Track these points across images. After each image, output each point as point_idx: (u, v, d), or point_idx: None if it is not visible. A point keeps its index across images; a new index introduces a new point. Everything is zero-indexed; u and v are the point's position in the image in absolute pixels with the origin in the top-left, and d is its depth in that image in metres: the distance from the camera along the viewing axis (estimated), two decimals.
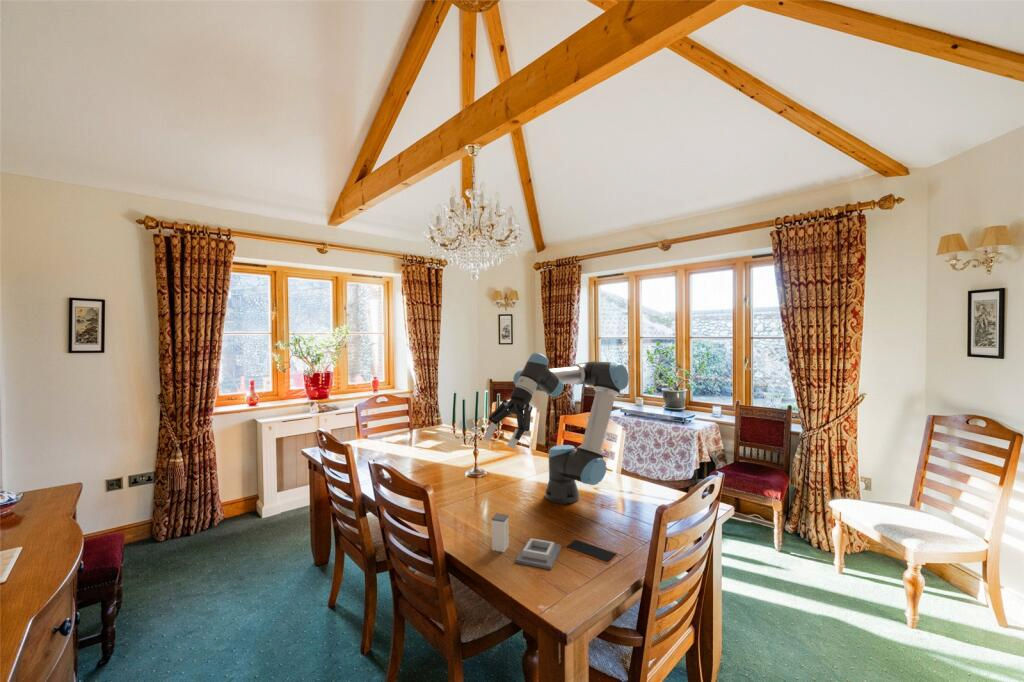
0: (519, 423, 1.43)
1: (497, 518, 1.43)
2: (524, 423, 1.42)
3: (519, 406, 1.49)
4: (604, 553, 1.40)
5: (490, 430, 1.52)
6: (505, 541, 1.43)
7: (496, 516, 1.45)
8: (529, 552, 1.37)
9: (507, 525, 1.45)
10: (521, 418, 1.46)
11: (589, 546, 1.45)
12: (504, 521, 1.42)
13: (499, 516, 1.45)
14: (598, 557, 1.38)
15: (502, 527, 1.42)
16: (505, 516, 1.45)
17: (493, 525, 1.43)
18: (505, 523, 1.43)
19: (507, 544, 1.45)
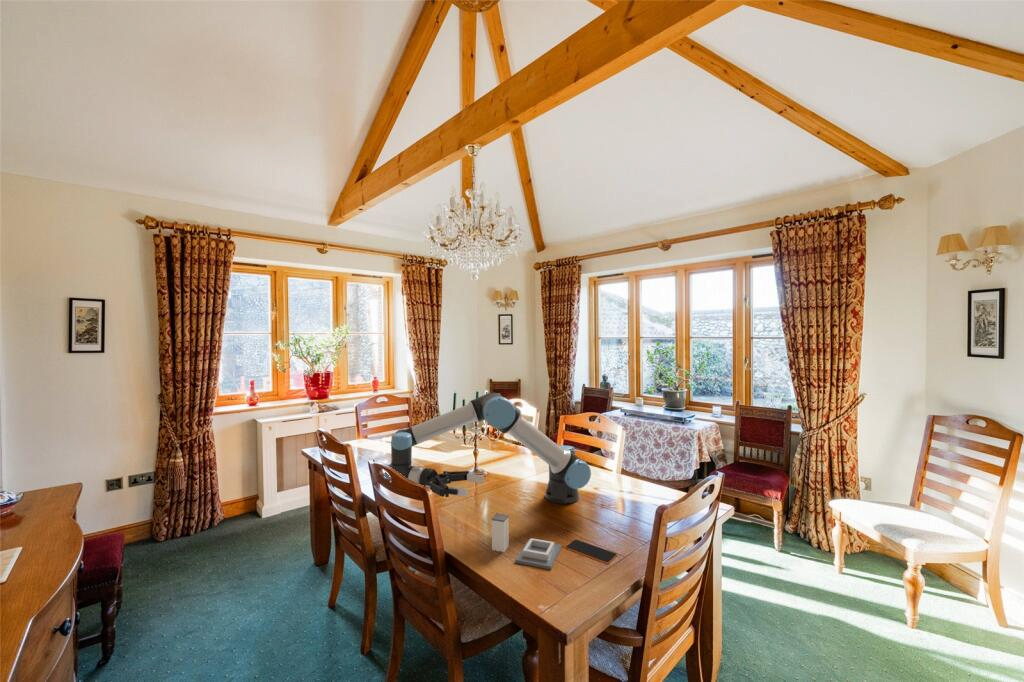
0: None
1: (497, 518, 1.43)
2: None
3: None
4: (604, 553, 1.40)
5: (473, 480, 1.55)
6: (505, 541, 1.43)
7: (496, 516, 1.45)
8: (529, 552, 1.37)
9: (507, 525, 1.45)
10: (441, 487, 1.46)
11: (589, 546, 1.45)
12: (504, 521, 1.42)
13: (499, 516, 1.45)
14: (598, 557, 1.38)
15: (502, 527, 1.42)
16: (505, 516, 1.45)
17: (493, 525, 1.43)
18: (505, 523, 1.43)
19: (507, 544, 1.45)
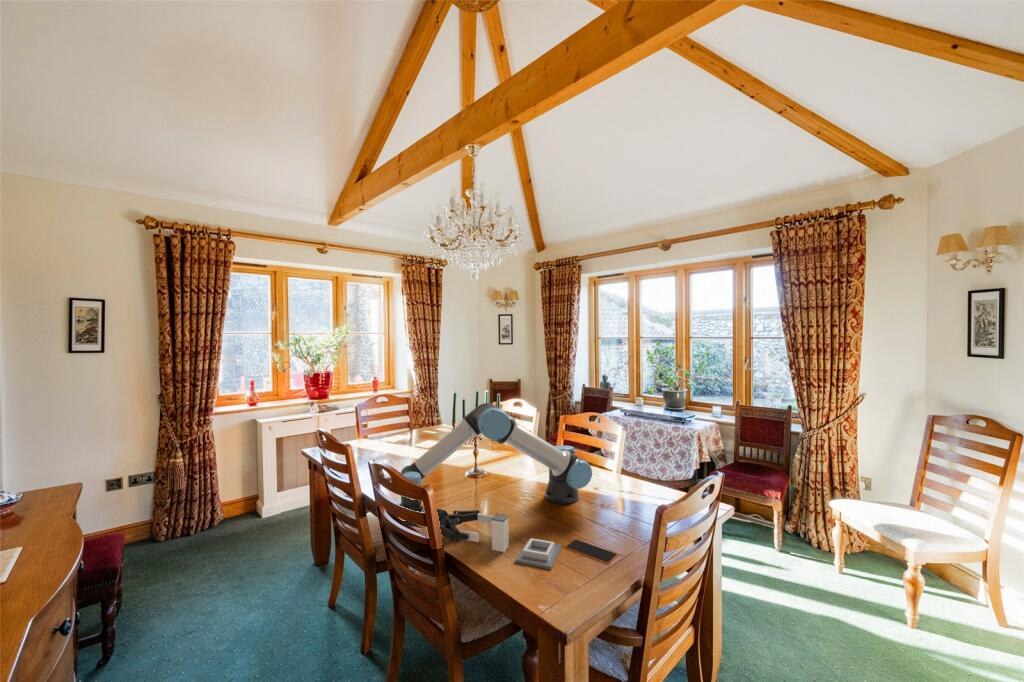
0: None
1: (497, 518, 1.43)
2: None
3: None
4: (604, 553, 1.40)
5: (484, 520, 1.53)
6: (505, 541, 1.43)
7: (496, 516, 1.45)
8: (529, 552, 1.37)
9: (507, 525, 1.45)
10: (451, 530, 1.45)
11: (589, 546, 1.45)
12: (504, 521, 1.42)
13: (499, 516, 1.45)
14: (598, 557, 1.38)
15: (502, 527, 1.42)
16: (505, 516, 1.45)
17: (493, 525, 1.43)
18: (505, 523, 1.43)
19: (507, 544, 1.45)
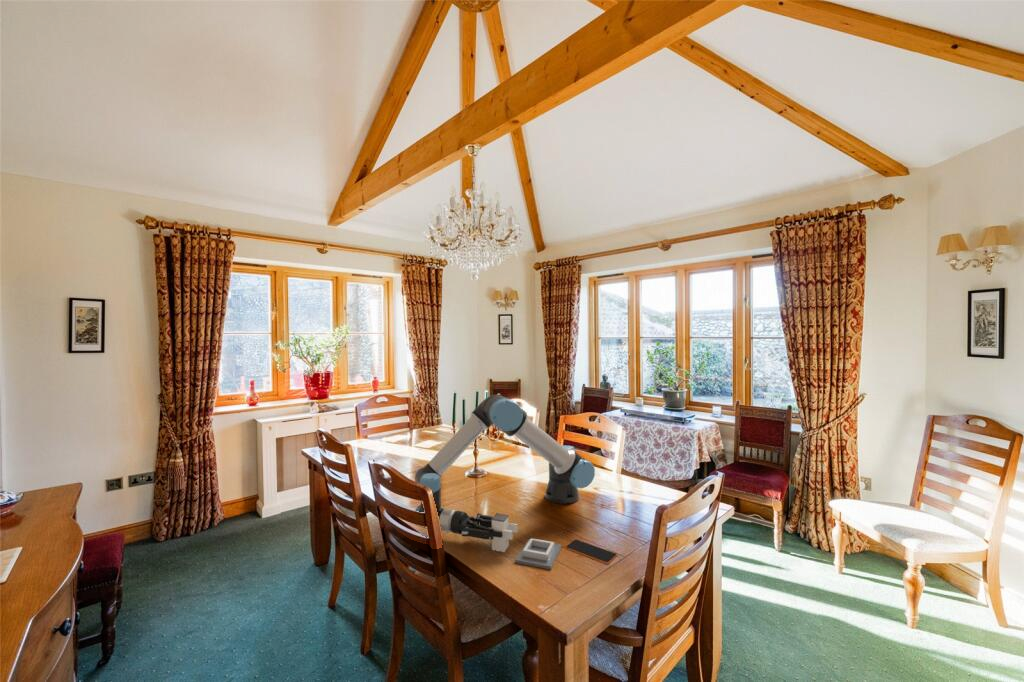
0: None
1: (497, 518, 1.43)
2: None
3: None
4: (604, 553, 1.40)
5: None
6: (505, 541, 1.43)
7: (496, 516, 1.45)
8: (529, 552, 1.37)
9: (507, 525, 1.45)
10: None
11: (589, 546, 1.45)
12: (504, 521, 1.42)
13: (499, 516, 1.45)
14: (598, 557, 1.38)
15: (502, 527, 1.42)
16: (505, 516, 1.45)
17: (493, 525, 1.43)
18: (505, 523, 1.43)
19: (507, 544, 1.45)
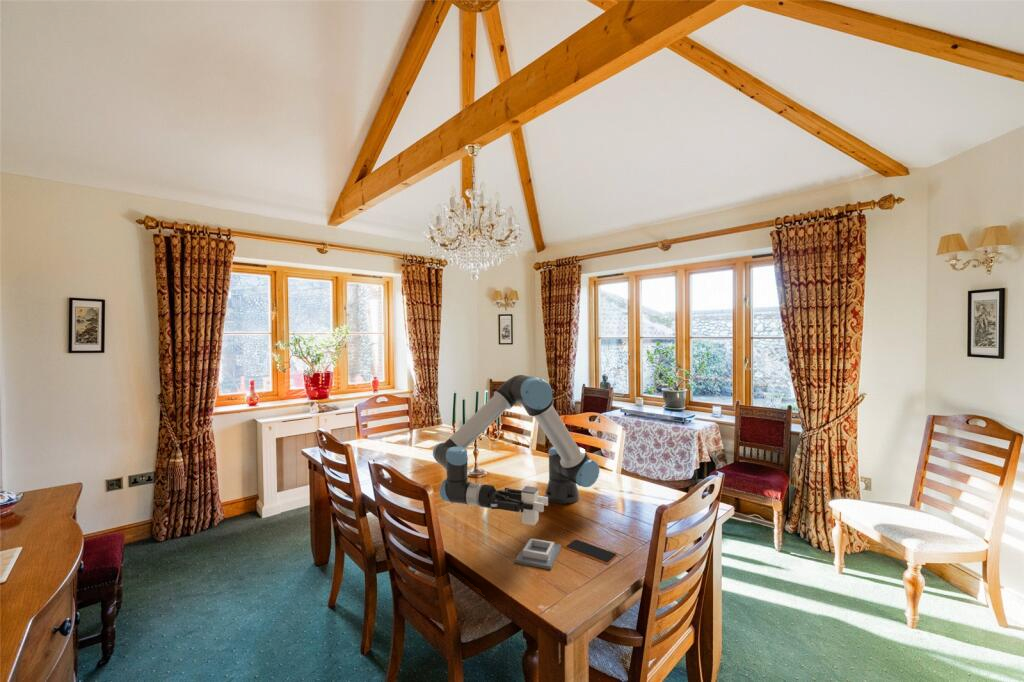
0: None
1: (527, 490, 1.39)
2: None
3: None
4: (604, 553, 1.40)
5: None
6: (536, 514, 1.39)
7: (526, 488, 1.41)
8: (529, 552, 1.37)
9: (537, 498, 1.41)
10: None
11: (589, 546, 1.45)
12: (534, 493, 1.38)
13: (529, 488, 1.40)
14: (598, 557, 1.38)
15: (533, 499, 1.37)
16: (535, 488, 1.40)
17: (523, 497, 1.39)
18: (535, 495, 1.38)
19: (537, 518, 1.40)
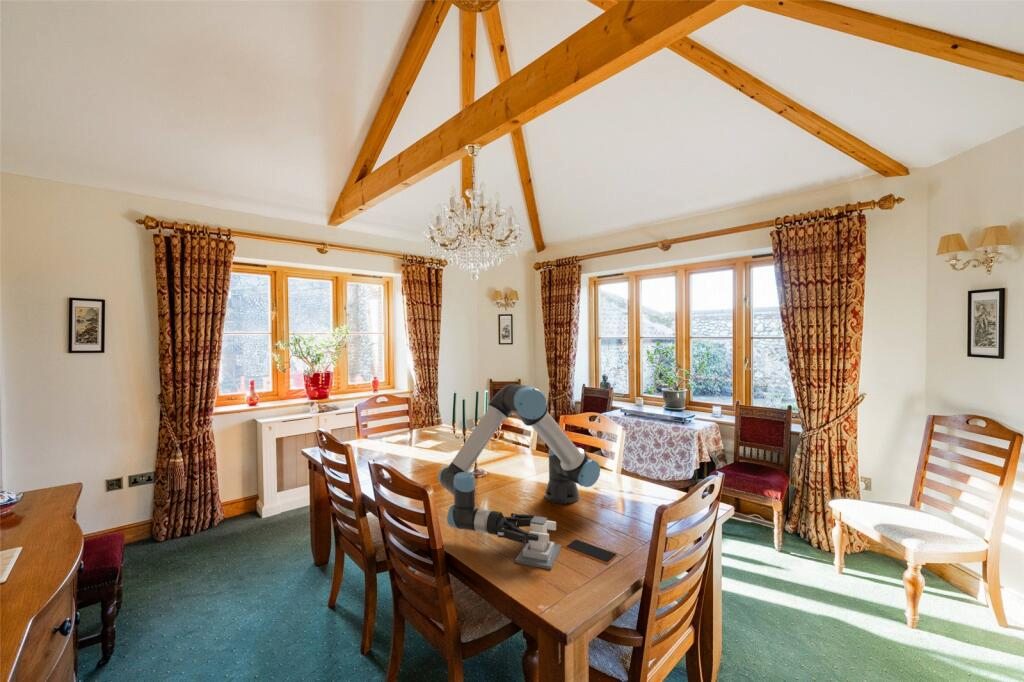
0: None
1: (536, 521, 1.39)
2: None
3: None
4: (604, 553, 1.40)
5: None
6: (544, 545, 1.39)
7: (535, 519, 1.40)
8: (529, 552, 1.37)
9: (546, 528, 1.40)
10: None
11: (589, 546, 1.45)
12: (543, 524, 1.38)
13: (538, 519, 1.40)
14: (598, 557, 1.38)
15: (542, 530, 1.37)
16: (544, 519, 1.40)
17: (532, 528, 1.38)
18: (544, 526, 1.38)
19: (546, 548, 1.40)
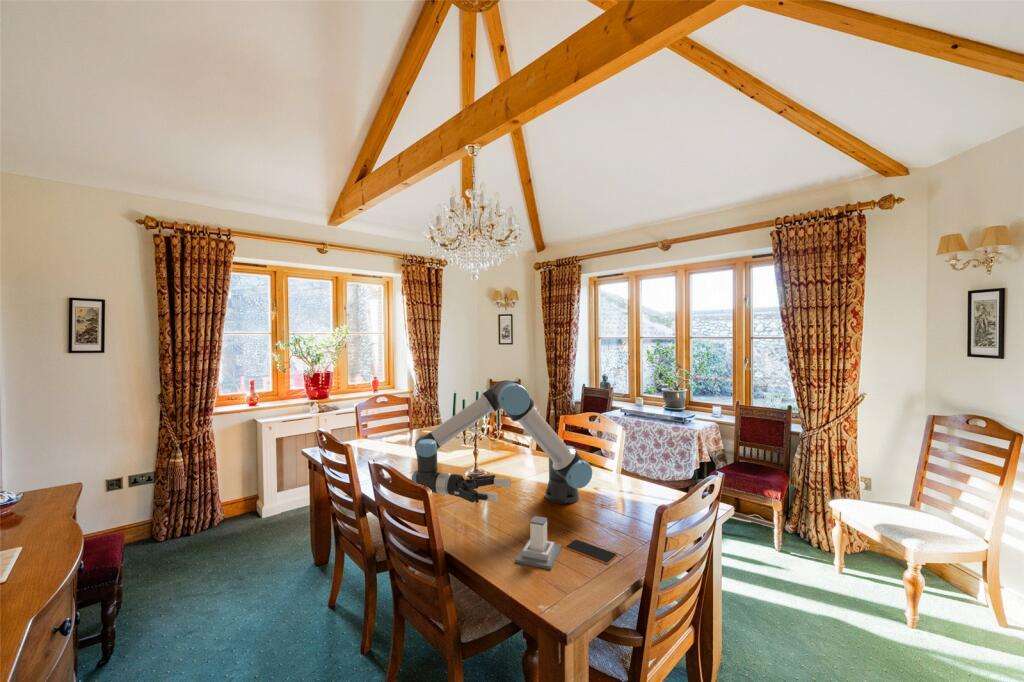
0: None
1: (536, 521, 1.38)
2: None
3: None
4: (604, 553, 1.40)
5: (500, 484, 1.55)
6: (544, 545, 1.39)
7: (535, 519, 1.40)
8: (529, 552, 1.37)
9: (546, 528, 1.40)
10: (469, 493, 1.47)
11: (589, 546, 1.45)
12: (543, 524, 1.38)
13: (538, 519, 1.40)
14: (598, 557, 1.38)
15: (541, 531, 1.37)
16: (544, 519, 1.40)
17: (532, 528, 1.38)
18: (544, 526, 1.38)
19: (546, 548, 1.40)
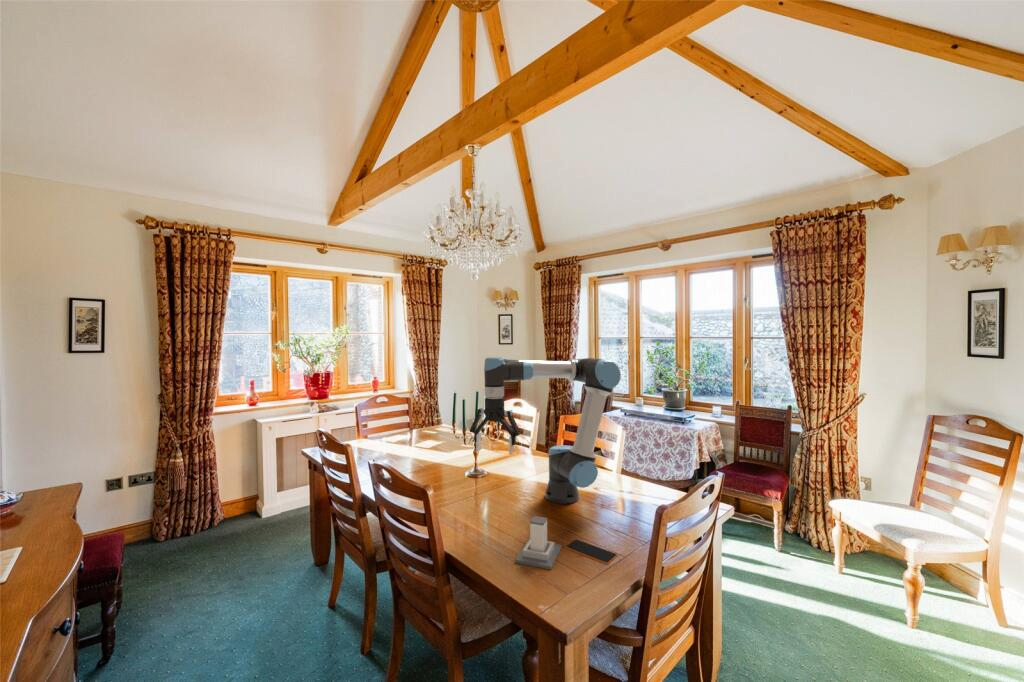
0: (510, 432, 1.57)
1: (536, 521, 1.38)
2: (515, 431, 1.57)
3: (500, 415, 1.59)
4: (604, 553, 1.40)
5: (479, 441, 1.63)
6: (544, 545, 1.39)
7: (535, 519, 1.40)
8: (529, 552, 1.37)
9: (546, 528, 1.40)
10: (507, 425, 1.59)
11: (589, 546, 1.45)
12: (543, 524, 1.38)
13: (538, 519, 1.40)
14: (598, 557, 1.38)
15: (541, 531, 1.37)
16: (544, 519, 1.40)
17: (532, 528, 1.38)
18: (544, 526, 1.38)
19: (546, 548, 1.40)
